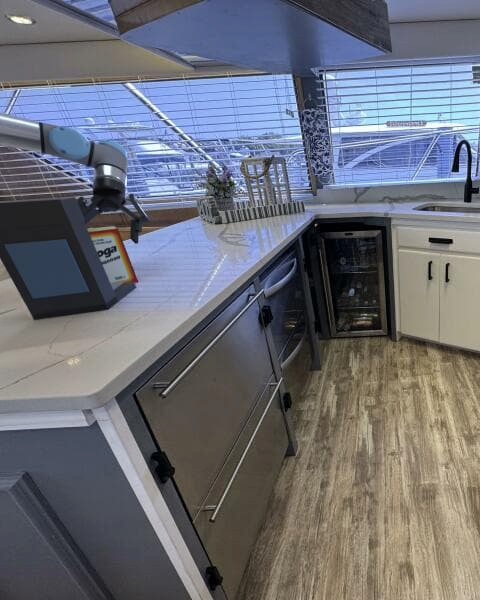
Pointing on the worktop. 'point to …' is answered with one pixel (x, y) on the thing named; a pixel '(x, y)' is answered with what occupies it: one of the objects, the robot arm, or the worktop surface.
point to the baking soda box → (113, 254)
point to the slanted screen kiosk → (54, 259)
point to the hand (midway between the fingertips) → (106, 243)
